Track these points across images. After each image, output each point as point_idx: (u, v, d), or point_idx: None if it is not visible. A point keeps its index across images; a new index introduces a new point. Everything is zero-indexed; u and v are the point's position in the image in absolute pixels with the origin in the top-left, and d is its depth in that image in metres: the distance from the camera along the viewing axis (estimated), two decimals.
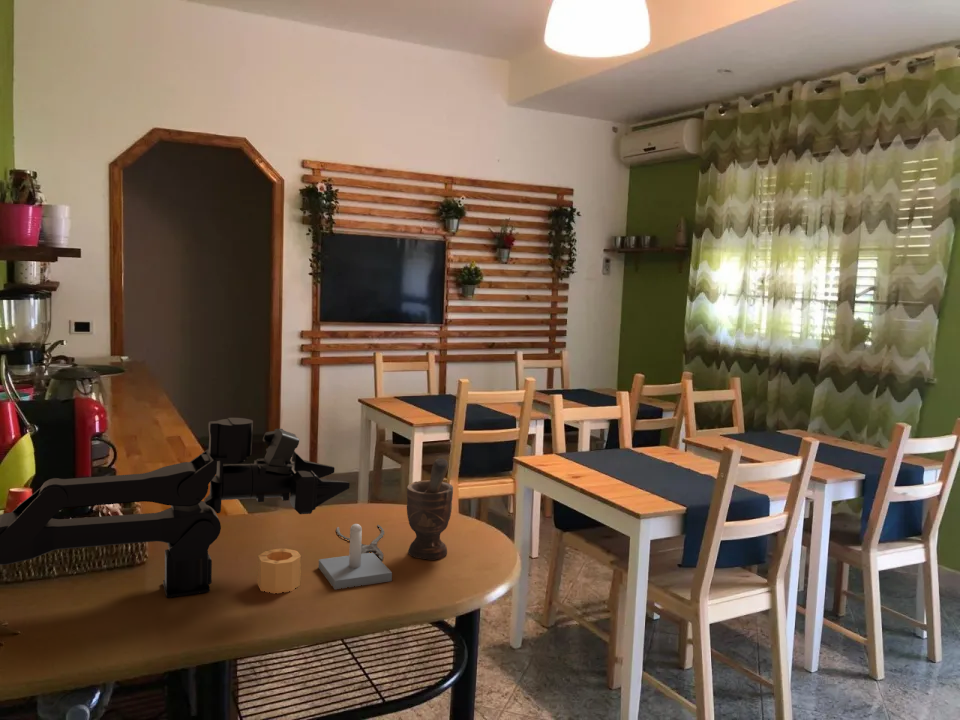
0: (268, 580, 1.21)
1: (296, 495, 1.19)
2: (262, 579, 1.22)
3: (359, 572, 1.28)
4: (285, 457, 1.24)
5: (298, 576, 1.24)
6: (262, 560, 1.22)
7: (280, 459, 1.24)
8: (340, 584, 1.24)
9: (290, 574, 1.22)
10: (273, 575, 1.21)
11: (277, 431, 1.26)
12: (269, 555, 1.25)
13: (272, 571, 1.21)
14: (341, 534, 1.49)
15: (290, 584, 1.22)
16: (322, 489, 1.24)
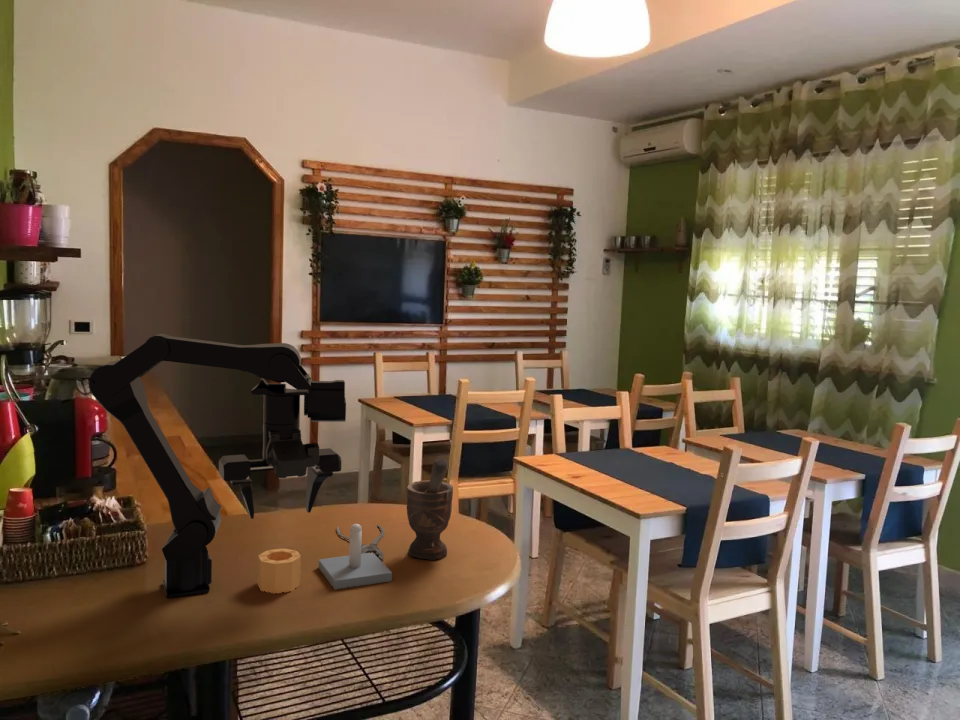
0: (268, 580, 1.21)
1: (224, 460, 1.18)
2: (262, 579, 1.22)
3: (359, 572, 1.28)
4: (272, 459, 1.17)
5: (298, 576, 1.24)
6: (262, 560, 1.22)
7: (271, 454, 1.17)
8: (340, 584, 1.24)
9: (290, 574, 1.22)
10: (273, 575, 1.21)
11: (300, 458, 1.16)
12: (269, 555, 1.25)
13: (272, 571, 1.21)
14: (341, 534, 1.49)
15: (290, 584, 1.22)
16: None
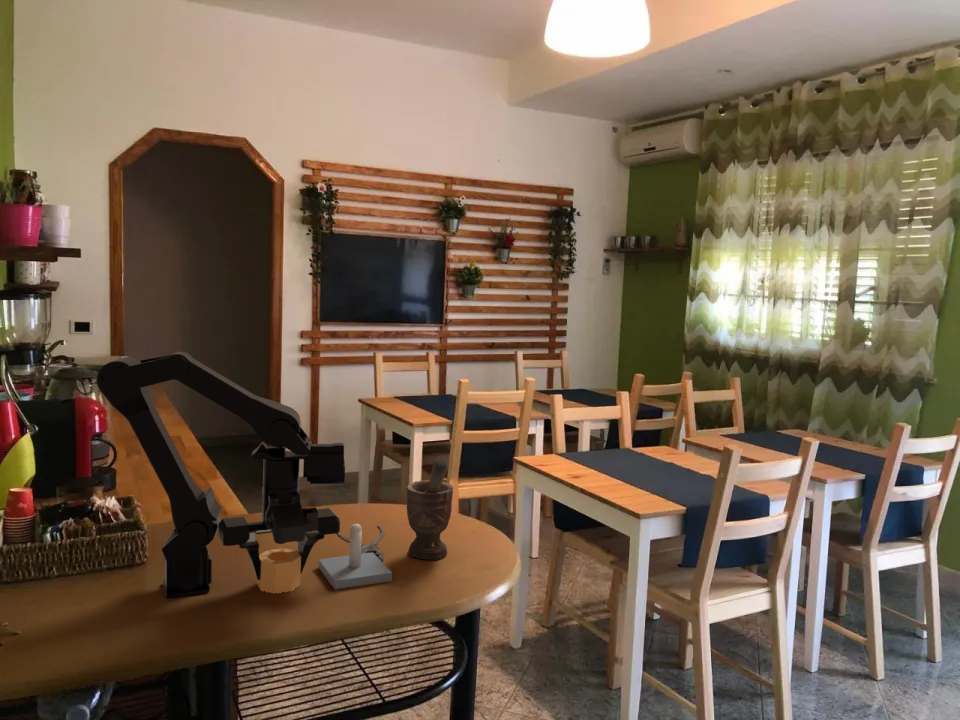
0: (268, 580, 1.21)
1: (224, 524, 1.19)
2: (262, 579, 1.22)
3: (359, 572, 1.28)
4: (271, 524, 1.18)
5: (298, 576, 1.24)
6: (262, 560, 1.22)
7: (270, 519, 1.18)
8: (340, 584, 1.24)
9: (290, 574, 1.22)
10: (273, 575, 1.21)
11: (299, 524, 1.17)
12: (269, 555, 1.25)
13: (272, 571, 1.21)
14: (341, 534, 1.49)
15: (290, 584, 1.22)
16: None
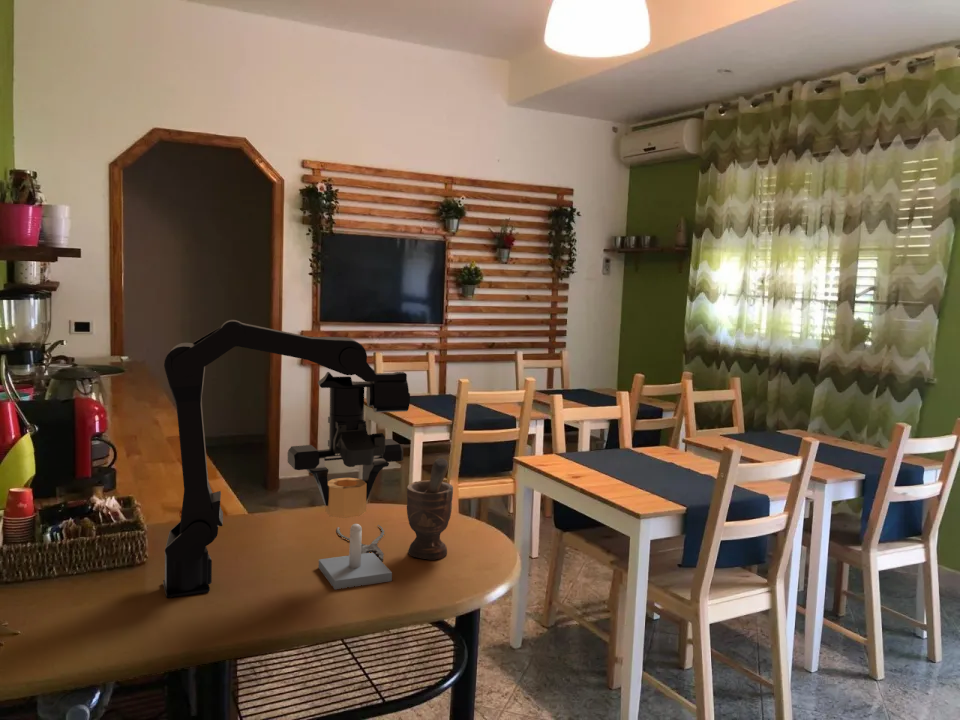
0: (336, 505, 1.25)
1: (294, 450, 1.23)
2: (330, 504, 1.25)
3: (359, 572, 1.28)
4: (340, 449, 1.22)
5: (364, 502, 1.28)
6: (330, 486, 1.26)
7: (339, 444, 1.22)
8: (340, 584, 1.24)
9: (357, 499, 1.26)
10: (341, 500, 1.25)
11: (368, 447, 1.20)
12: (336, 483, 1.29)
13: (340, 496, 1.25)
14: (341, 534, 1.49)
15: (357, 509, 1.26)
16: None
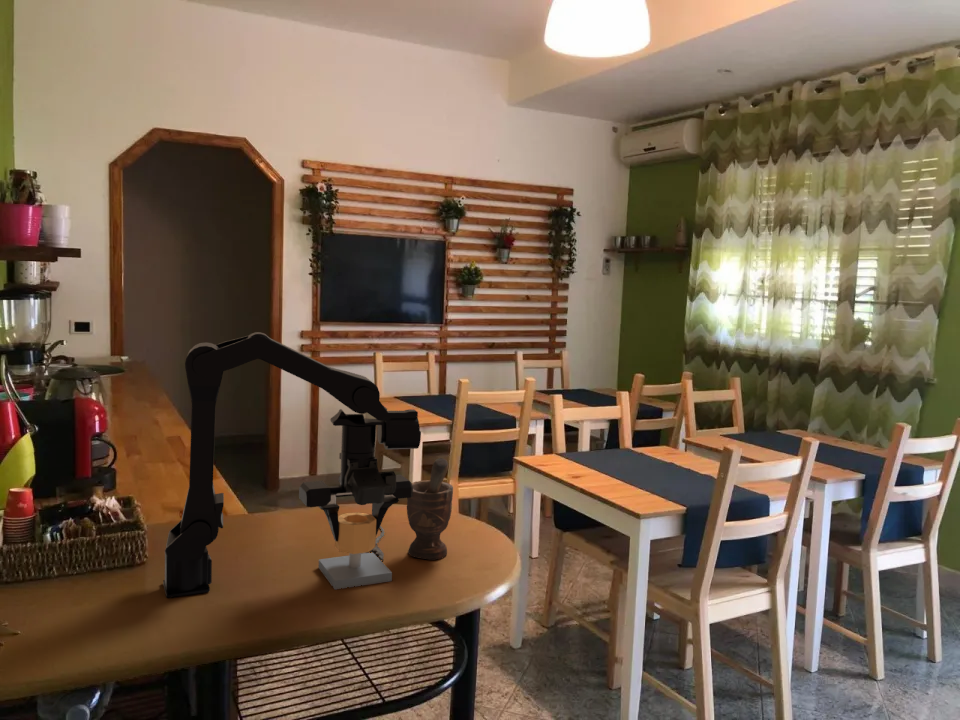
0: (347, 541, 1.27)
1: (305, 486, 1.25)
2: (341, 540, 1.27)
3: (359, 572, 1.28)
4: (351, 487, 1.24)
5: (374, 538, 1.30)
6: (341, 522, 1.27)
7: (350, 481, 1.24)
8: (340, 584, 1.24)
9: (367, 535, 1.27)
10: (352, 536, 1.26)
11: (380, 486, 1.22)
12: (346, 518, 1.30)
13: (350, 532, 1.26)
14: None
15: (367, 545, 1.28)
16: None
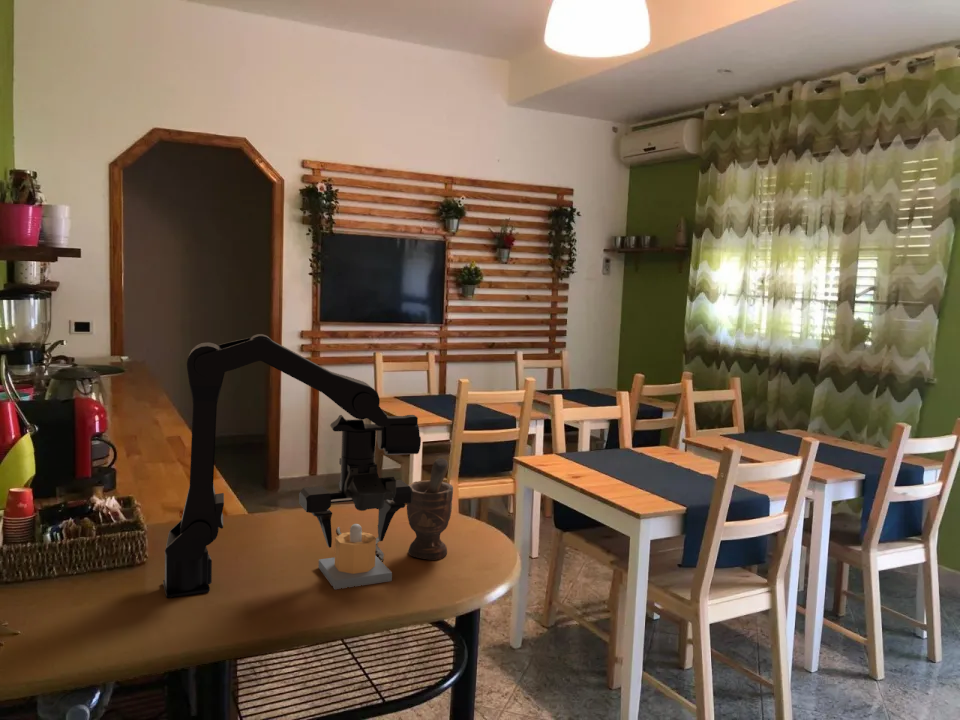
0: (346, 561, 1.27)
1: (305, 492, 1.25)
2: (340, 560, 1.28)
3: None
4: (351, 492, 1.24)
5: (373, 557, 1.30)
6: (340, 542, 1.28)
7: (350, 487, 1.24)
8: (340, 584, 1.24)
9: (367, 555, 1.28)
10: (351, 556, 1.27)
11: (379, 492, 1.22)
12: (345, 538, 1.31)
13: (350, 552, 1.27)
14: None
15: (367, 565, 1.28)
16: None
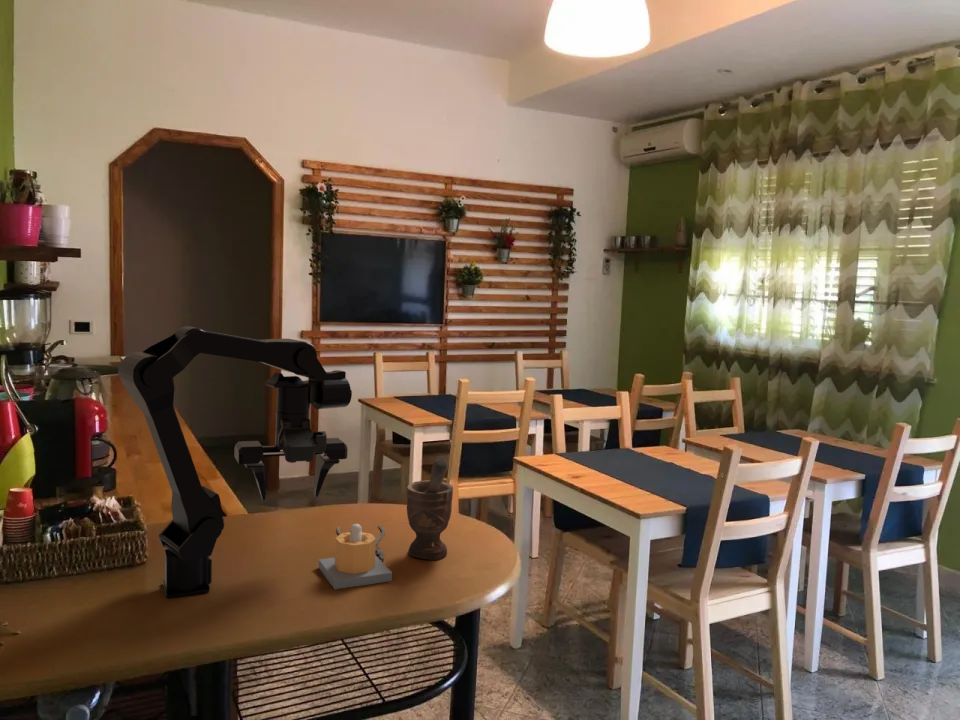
0: (346, 561, 1.27)
1: (239, 445, 1.28)
2: (340, 560, 1.28)
3: None
4: (283, 445, 1.27)
5: (373, 557, 1.30)
6: (340, 542, 1.28)
7: (282, 440, 1.27)
8: (340, 584, 1.24)
9: (367, 555, 1.28)
10: (351, 556, 1.27)
11: (309, 444, 1.25)
12: (345, 538, 1.31)
13: (350, 552, 1.27)
14: None
15: (367, 565, 1.28)
16: None
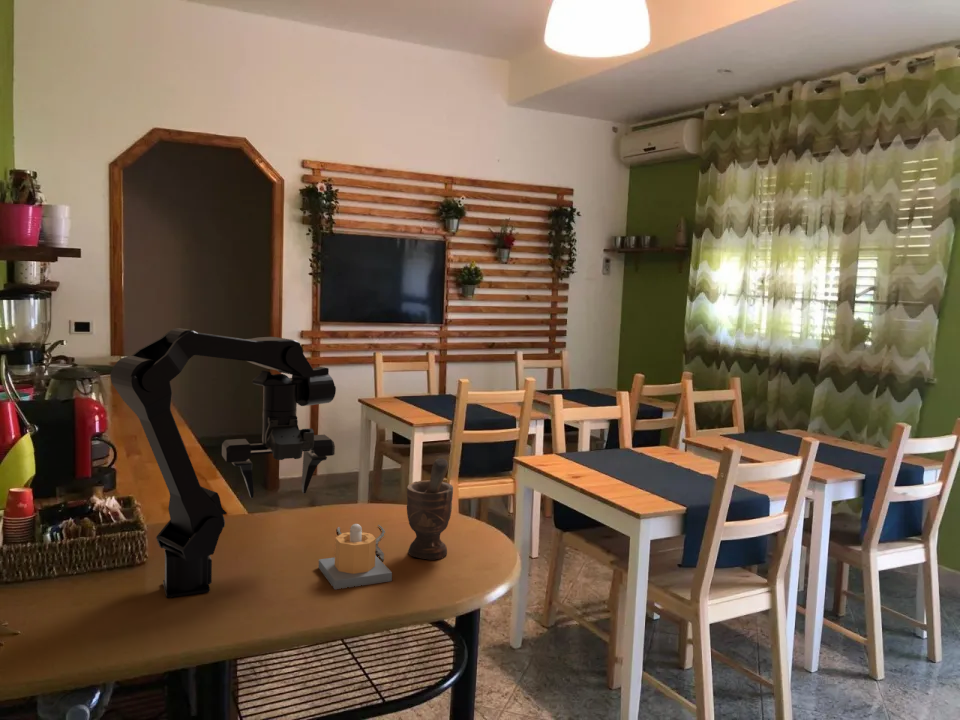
0: (346, 561, 1.27)
1: (227, 443, 1.29)
2: (340, 560, 1.28)
3: None
4: (271, 443, 1.28)
5: (373, 557, 1.30)
6: (340, 542, 1.28)
7: (269, 438, 1.28)
8: (340, 584, 1.24)
9: (367, 555, 1.28)
10: (351, 556, 1.27)
11: (297, 442, 1.26)
12: (345, 538, 1.31)
13: (350, 552, 1.27)
14: None
15: (367, 565, 1.28)
16: None
